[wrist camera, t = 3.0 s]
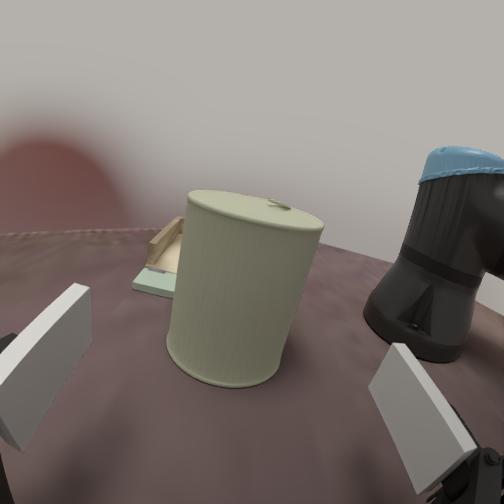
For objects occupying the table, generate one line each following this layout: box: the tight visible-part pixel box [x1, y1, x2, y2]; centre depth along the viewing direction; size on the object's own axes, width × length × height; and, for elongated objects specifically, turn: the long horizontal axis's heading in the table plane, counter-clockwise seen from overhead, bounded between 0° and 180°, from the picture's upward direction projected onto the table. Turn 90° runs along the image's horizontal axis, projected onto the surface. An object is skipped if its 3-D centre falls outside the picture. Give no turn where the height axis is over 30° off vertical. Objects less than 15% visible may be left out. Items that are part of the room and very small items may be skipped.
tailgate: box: [132, 267, 176, 299], centre depth 30 cm, size 16×4×1 cm, turn 92°
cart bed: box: [145, 216, 185, 275], centre depth 39 cm, size 16×16×4 cm
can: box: [166, 190, 324, 388], centre depth 21 cm, size 9×9×12 cm
